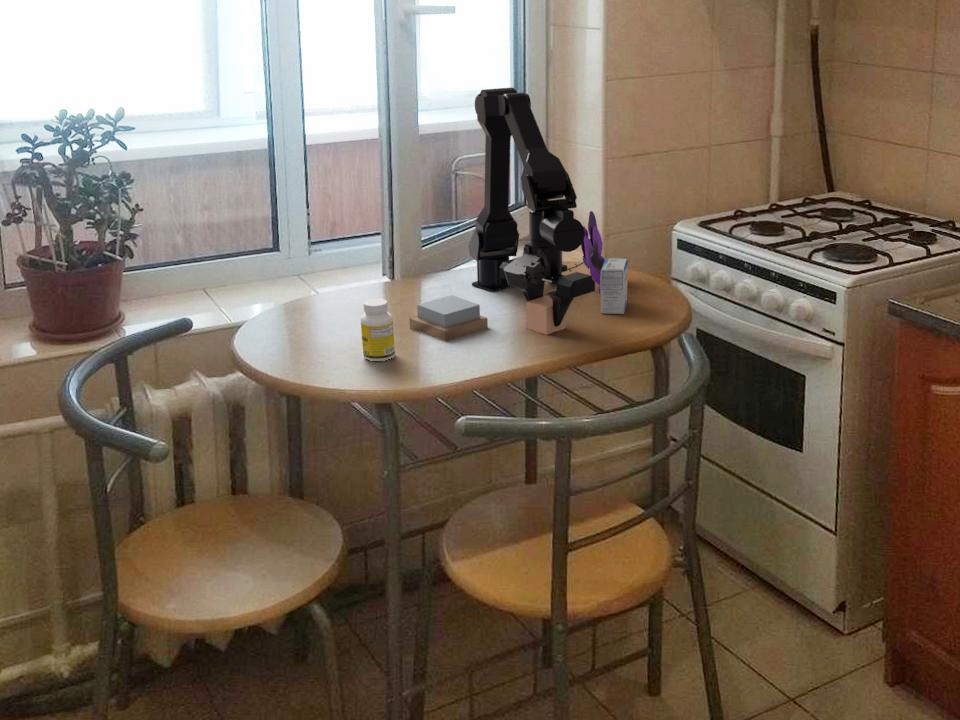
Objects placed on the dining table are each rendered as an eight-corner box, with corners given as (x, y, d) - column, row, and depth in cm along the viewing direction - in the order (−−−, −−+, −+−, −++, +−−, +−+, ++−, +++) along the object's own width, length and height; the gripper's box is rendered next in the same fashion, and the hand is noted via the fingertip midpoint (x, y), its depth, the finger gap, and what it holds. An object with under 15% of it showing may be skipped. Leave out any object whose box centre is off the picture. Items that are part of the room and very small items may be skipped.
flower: (552, 321, 220) (612, 294, 214) (516, 254, 218) (576, 225, 212) (569, 298, 233) (627, 273, 227) (536, 235, 231) (593, 207, 225)
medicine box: (624, 315, 206) (625, 270, 203) (600, 314, 207) (600, 269, 204) (627, 302, 214) (628, 258, 211) (604, 301, 215) (604, 257, 211)
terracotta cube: (526, 328, 201) (526, 301, 199) (546, 321, 204) (546, 295, 202) (546, 334, 197) (546, 307, 196) (566, 328, 200) (566, 301, 199)
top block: (417, 317, 202) (417, 304, 201) (452, 307, 207) (451, 295, 206) (444, 328, 197) (444, 314, 196) (479, 318, 201) (479, 304, 200)
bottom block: (410, 331, 203) (409, 318, 202) (452, 318, 209) (451, 305, 208) (445, 344, 196) (444, 330, 195) (487, 330, 202) (487, 317, 201)
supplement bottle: (363, 352, 192) (359, 297, 188) (395, 350, 192) (391, 296, 188) (363, 363, 187) (359, 307, 183) (395, 361, 187) (392, 306, 183)
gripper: (475, 237, 196) (478, 321, 202) (551, 257, 183) (551, 346, 189) (521, 225, 203) (522, 307, 209) (597, 243, 190) (596, 330, 196)
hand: (546, 322), depth 200 cm, fingers closed on terracotta cube, 5 cm apart
